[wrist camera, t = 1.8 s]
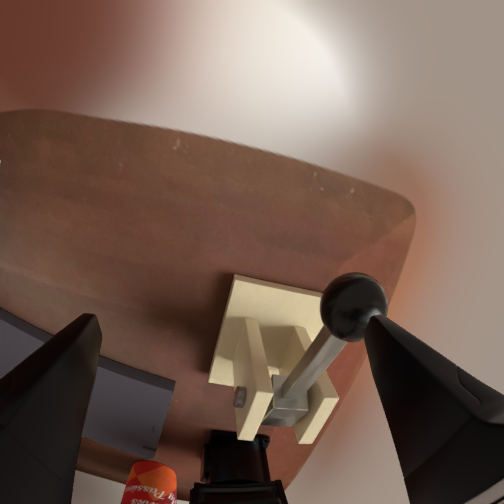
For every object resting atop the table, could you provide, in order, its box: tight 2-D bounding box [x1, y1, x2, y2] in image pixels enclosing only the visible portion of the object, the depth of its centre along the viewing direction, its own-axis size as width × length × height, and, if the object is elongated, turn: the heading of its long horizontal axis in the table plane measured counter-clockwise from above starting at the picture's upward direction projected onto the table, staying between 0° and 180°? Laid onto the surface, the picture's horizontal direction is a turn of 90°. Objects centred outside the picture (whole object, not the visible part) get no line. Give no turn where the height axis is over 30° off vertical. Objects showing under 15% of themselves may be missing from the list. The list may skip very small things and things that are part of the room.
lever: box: [260, 272, 388, 427], centre depth 15 cm, size 12×3×3 cm, turn 165°
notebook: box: [0, 308, 175, 459], centre depth 24 cm, size 13×2×21 cm
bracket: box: [208, 274, 339, 444], centre depth 20 cm, size 10×8×10 cm
